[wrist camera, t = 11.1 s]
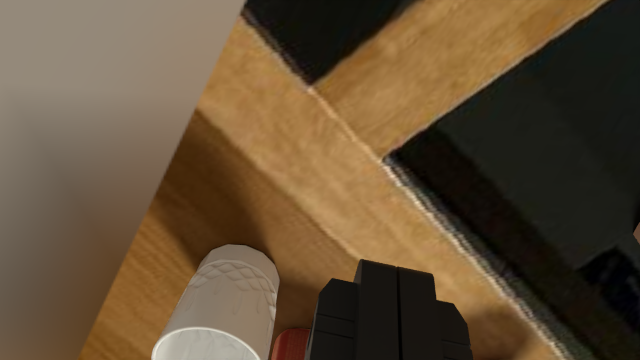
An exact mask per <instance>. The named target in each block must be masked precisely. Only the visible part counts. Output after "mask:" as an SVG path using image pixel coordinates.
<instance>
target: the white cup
mask: <svg viewBox="0 0 640 360" xmlns="http://www.w3.org/2000/svg"><path fill="white" fill-rule="evenodd" d="M279 282H280V279H279V276H278V273H277V270H276V267H275V265H274V264H273V263H272V262H271V261H270V260H269V259H268V257H267V256H266V255H265V254H264V253H262V252H260V251H258V250H255V249H253V248H251V247H248V246H246V245H231V244H227V245H224V246H221V247H219V248H216V249H213V250H211V251H210V252H209V254H208V255H207V256H206V257H205V258H204V259H203V260H202V262H201V263H200V265H199V267H198V269H197V271H196V273H195V275H194V276H193V277H192V279H191V280H190V282H189V284H188V285H187V287H186V289H185V291H184V292H183V294H182V296H181V298H180V299H179V301H178V303H177V305H176V307H175V309H174V311H173V313H172V314H171V316H170V318H169V320H168V322H167V324H166V326H165V328H164V329H163V331H162V333H161V335H160V337H159V339H158V341H157V342H156V344H155V346H154V348H153V351H152V360H268V357H269V351H270V346H271V340H272V334H273V329H274V322H275V314H276V299H277V293H278V287H279Z"/></svg>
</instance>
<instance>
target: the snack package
mask: <svg viewBox="0 0 640 360" xmlns="http://www.w3.org/2000/svg"><path fill="white" fill-rule="evenodd" d="M309 333H310V329H304V328H294V329H287V330H285V331H284V332H282V333H281V334H280V335H279V336H278V337H277V339H276V341H275V344H274V348H273V353H272V357H271V360H304V358H305V351H306V345H307V341H308V337H309Z"/></svg>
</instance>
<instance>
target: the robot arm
mask: <svg viewBox="0 0 640 360" xmlns="http://www.w3.org/2000/svg"><path fill="white" fill-rule="evenodd" d="M470 346H471V344H470V339H469V333H468V327H467V323H466V322H465V320H464V319H463V317H462V316H461V314H460V313H459V311H458V310H457V308H456V307H455V305H454V304H453V303H448V302H443V301H439V300H436V292H435V283H434V277H433V274H431V273H426V272H422V271H417V270H412V269H407V268H403V267H395V266H393V265H388V264H383V263H379V262H374V261H369V260H364V259H360V261H359V264H358V267H357V271H356V274H355V278H354V281H353V282H348V281H344V280H339V279H334V278H332V279H331V280H330V281H329V282H328V283H327V285H326V286H325V287H324V288H323V289H322V291H321V292H320V293H319V297H318V301H317V305H316V309H315V313H314V317H313V321H312V325H311V329H310V333H309V337H308V341H307V345H306V351H305V358H304V360H473V355H472V350H471V349H470Z"/></svg>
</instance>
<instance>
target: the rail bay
mask: <svg viewBox="0 0 640 360" xmlns="http://www.w3.org/2000/svg"><path fill="white" fill-rule="evenodd" d="M633 234H634V236H635V237H636V239H637V240H638V242H639V243H640V223H639V224H638V226H637V228H636V229H635V231H634V233H633Z"/></svg>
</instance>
